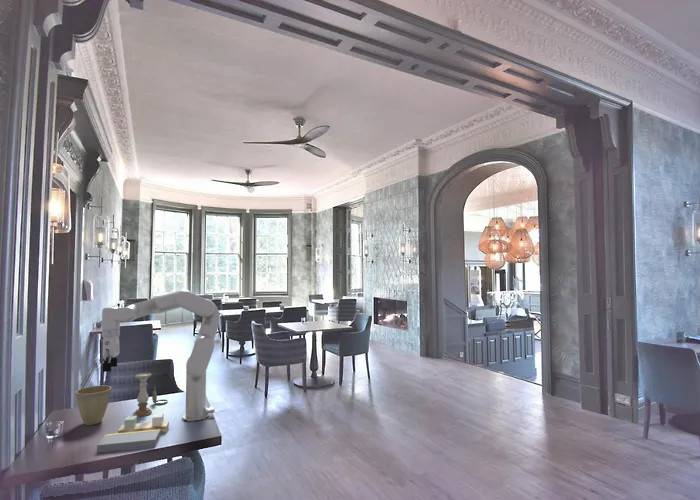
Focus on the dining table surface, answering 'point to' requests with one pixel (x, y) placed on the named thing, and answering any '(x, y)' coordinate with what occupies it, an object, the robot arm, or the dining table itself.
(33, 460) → the dining table surface
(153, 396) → the pocket watch
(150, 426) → the tan piece
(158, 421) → the block
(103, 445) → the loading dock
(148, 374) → the candle holder
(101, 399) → the plant pot
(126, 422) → the pale green block
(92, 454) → the dining table surface
